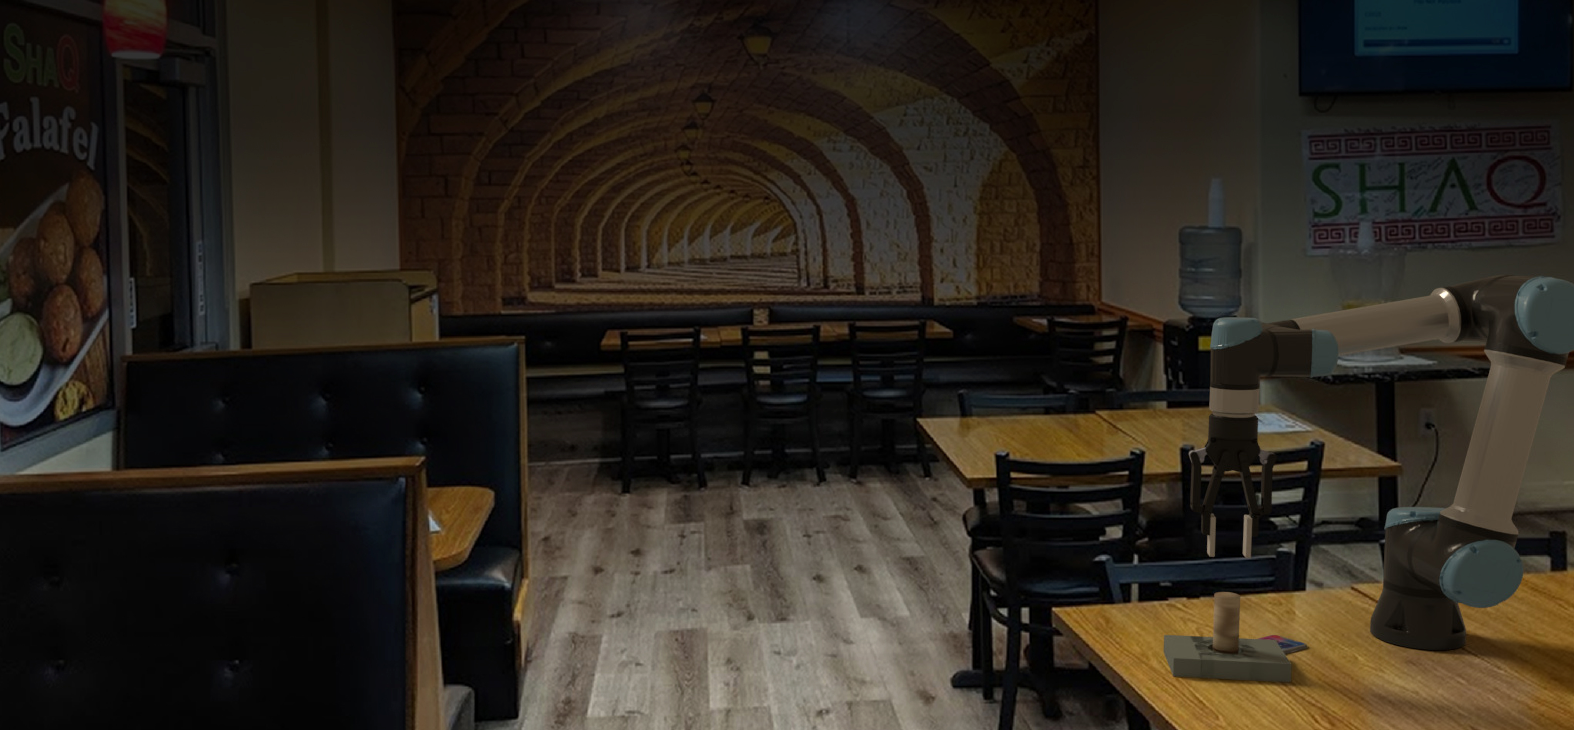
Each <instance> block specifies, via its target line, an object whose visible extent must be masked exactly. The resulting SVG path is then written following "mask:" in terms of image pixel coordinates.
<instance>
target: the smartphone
mask: <svg viewBox="0 0 1574 730" xmlns="http://www.w3.org/2000/svg"><path fill="white" fill-rule="evenodd" d="M1257 639H1266V640H1276V642H1277V643H1278V645H1279V646H1280V648H1281V649H1282V651H1283V652H1284V654H1285V655H1288V654H1291V653H1295V652H1300V651H1303V650H1306V649H1307V648H1308V644H1307V643H1305V642H1302V641H1298V640H1295V639H1291V638H1289V637H1286V636H1282V635H1277V634H1269V635H1266V636H1263V637H1259V638H1257Z"/></svg>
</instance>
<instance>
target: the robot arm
mask: <svg viewBox="0 0 1574 730" xmlns="http://www.w3.org/2000/svg"><path fill="white" fill-rule="evenodd" d="M1434 340H1439V341H1441V342H1442V343H1445V344H1451V343H1457V342H1483V343H1485V346H1484V349H1483V352H1484V353H1485V355H1486V357H1487V358H1488V360H1489V361H1490V368H1489V373H1488V376H1487V378H1486V379H1487V380H1486V383H1485V386H1484V390H1483V393H1482V398H1481V401H1480V405H1479V409H1478V412H1477V415H1476V416H1477V417H1476V419H1475V422H1474V427H1473V430H1472V434H1471V438H1470V441H1469V444H1468V448H1467V452H1466V456H1465V460H1464V462H1463V467H1462V471H1461V475H1460V478H1459V480H1458V484H1457V485H1458V486H1457V489H1456V492H1455V495H1454V496H1455V497H1454V498H1453V499H1454V500H1453V503H1452V504H1451V505H1450V506H1449V507H1432V506H1431V507H1427V506H1402V507H1395V508H1394V507H1393V508H1392V509H1389V511H1388V512H1387V514H1386V520H1385V525H1384V552H1383V553H1384V555H1383V556H1384V558H1383V577H1382V578H1383V582H1382V591H1381V594H1380V595H1379V598H1378V601H1377V602H1376V605H1375V607H1374V609H1373V612H1372V614H1371V617H1370V621H1369V622H1370V623H1369V625H1370V626H1369V627H1370V628H1369V632H1370V633H1371V635H1372V636H1373V637H1375V638H1376V639H1379V640H1381V641H1384V642H1387V643H1389V644H1391V645H1392V644H1393V645H1397V646H1401V647H1406V648H1411V649H1416V650H1417V649H1418V650H1428V651H1429V650H1431V651H1445V650H1454V649H1459V648H1462V647H1464V646H1465V645H1466V643H1467V628H1466V625H1465V622H1464V619H1463V615H1462V611H1461V608H1460V605H1459V604H1462V605H1465V606H1468V607H1471V608H1476V609H1486V608H1492V607H1496V606H1498V605H1499V604H1501V603H1503V602H1505V601H1507V600H1509V599H1510V598H1511V597H1512V596H1513V595H1514V594H1515V593H1516V592H1517V590H1518V589H1519V587H1520V585H1521V583H1522V582H1523V581H1522V580H1523V577H1524V562H1523V560H1521V558H1520V554H1519V553H1518V551H1517V549H1515V547H1516V544H1517V540H1518V536H1519V530H1518V528H1517V527H1516V525H1515V524H1514V522H1513V520H1512V517H1513V515H1514V510H1515V506H1516V503H1517V499H1518V496H1519V493H1520V489H1521V485H1522V481H1523V478H1524V475H1525V471H1526V467H1527V464H1528V460H1529V456H1530V453H1531V449H1532V445H1533V442H1534V438H1535V435H1536V430H1537V427H1538V424H1539V421H1540V420H1539V419H1540V416H1541V413H1542V410H1543V409H1542V408H1543V406H1544V402H1545V399H1546V396H1547V392H1548V387H1549V384H1550V380H1551V377H1552V376H1553V375H1555V374H1556V373H1557V372H1560V371H1561V370H1563V369H1565V367H1566V365H1567V360H1568V357H1569V353H1570V352H1573V351H1574V283H1573V282H1570V281H1568V280H1565V279H1560V278H1555V277H1553V276H1544V275H1539V276H1534V275H1533V276H1532V275H1513V274H1500V275H1499V274H1498V275H1493V276H1489V277H1484V278H1479V279H1475V280H1472V281H1466V282H1463V283H1458V284H1454V285H1448V286H1443V287H1437V288H1435V289H1433V290H1432V292H1431V293H1430V295H1426V296H1420V297H1415V298H1414V297H1413V298H1407V299H1402V300H1396V301H1390V302H1385V303H1384V302H1383V303H1379V304H1374V305H1373V304H1371V305H1367V306H1361V307H1355V308H1350V309H1344V310H1338V311H1337V310H1336V311H1332V312H1325V313H1320V314H1314V315H1307V316H1303V317H1297V318H1291V319H1284V320H1279V321H1274V322H1273V321H1272V322H1268V323H1267V322H1262V320H1260V318H1255V317H1235V316H1231V317H1230V316H1228V317H1227V316H1226V317H1219V318H1217V319H1216V320H1214V322H1213V324H1212V331H1211V339H1210V345H1209V347H1210V381H1209V382H1210V383H1209V385H1210V386H1209V407H1208V408H1209V411H1211V412H1212V413H1211V414H1209V415H1208V432H1207V433H1208V435H1207V437H1208V438H1207V441H1206V443H1205V445H1204V447H1203V448H1199V449H1195V450H1194V449H1190V450H1189V451H1188V453H1187V454H1188V457H1189V460H1190V463H1191V472H1190V473H1191V474H1190V475H1191V476H1190V497H1189V498H1190V499H1189V502H1190V503H1189V507H1190V508H1191V510H1192V511H1193V513H1197V514H1199V515H1201V522H1200V524H1201V525H1200V530H1201V533H1202V535H1203V536H1207V539H1206V541H1207V545H1206V549H1207V550H1206V553H1207V555H1208V556H1209V557H1211V558H1214V557H1215V555H1216V553H1215V552H1216V525H1217V524H1216V523H1217V517H1216V516H1215V514H1214V513H1212V512H1213V509H1214V506H1215V502H1216V500H1217V496H1218V493H1219V488H1221V487H1220V486H1221V483H1222V479H1223V478H1224V475H1225V473H1226V472H1233V471H1234V472H1237V473H1239V475H1240V479H1241V483H1242V487H1243V491H1244V496H1245V500H1246V505H1247V508H1248V509H1247V510H1248V513H1249V514H1244V515H1243V532H1242V533H1243V536H1242V537H1243V538H1242V539H1243V540H1242V555H1243V556H1244V557H1245V558H1246V559H1251V558H1252V537H1253V538H1257V537H1258V535H1259V525H1260V524H1259V523H1260V521H1259V520H1260V518H1261V517H1262V516H1265V515H1271V513H1272V506H1273V501H1272V500H1273V469H1274V466H1275V464H1276V463H1277V459H1278V457H1277V454H1275V453H1274V452H1272V451H1266V450H1263V449H1261V446H1260V444H1259V442H1258V436H1259V435H1258V433H1259V417H1258V416H1257V415H1256V414H1257V413H1258V412H1259V410H1260V407H1259V405H1260V384H1261V383H1260V380H1261V377H1262V378H1270V377H1291V378H1292V377H1294V378H1295V377H1297V378H1298V377H1299V378H1300V377H1304V378H1305V377H1307V378H1308V377H1309V378H1310V379H1312V378H1314V377H1326V376H1329V375H1331V374H1332V373H1333V372H1334V371H1335V370H1336V368H1337V365H1338V362H1339V356H1344V355H1350V354H1357V353H1363V352H1367V351H1374V350H1379V349H1386V348H1393V347H1398V346H1404V345H1410V344H1416V343H1422V342H1427V341H1428V342H1429V341H1434ZM1206 456H1208V458H1209V460H1211V462H1212V463H1213V467H1212V471H1211V477H1210V478H1209V483H1208V485H1207V489H1206V491H1205V492H1206V493H1205V496H1204V499H1203V502H1202V504H1201V493H1202V492H1201V490H1202V463H1204V461H1205V457H1206ZM1258 457H1259V462H1260V463H1261V464H1262V465H1261V478H1260V479H1261V480H1260V483H1261V484H1260V485H1261V486H1260V505H1258V501H1257V497H1256V492H1255V488H1254V483H1253V480H1252V473H1251V469H1250V466H1251V465H1252V464H1253V462H1254V461H1255V460H1257V458H1258Z"/></svg>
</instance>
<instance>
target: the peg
mask: <svg viewBox="0 0 1574 730" xmlns="http://www.w3.org/2000/svg"><path fill="white" fill-rule="evenodd" d="M1240 595H1241V594H1238V593H1234V592H1230V591H1218V592H1215V593H1214V595H1213V596H1214V597H1213V598H1214V599H1213V627H1212V628H1213V629H1212V630H1213V631H1212V633H1213V634H1212V637H1213V647H1212V648H1213V652H1216V653H1221V654H1231V655H1234V654H1238V652H1239V638H1240V619H1241V618H1240V616H1241V615H1240V614H1241V613H1240V612H1241V596H1240Z"/></svg>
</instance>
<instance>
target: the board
mask: <svg viewBox="0 0 1574 730" xmlns="http://www.w3.org/2000/svg"><path fill="white" fill-rule="evenodd" d="M1212 647H1213V636H1197V635H1194V636H1193V635H1178V634H1173V635H1172V634H1163V654H1164V657H1165V659H1166V662H1167V664H1168V668H1170V672H1171V674H1172V676H1173V677H1178V678H1179V677H1181V678H1182V677H1183V678H1200V679H1201V678H1202V679H1218V680H1219V679H1220V680H1221V679H1222V680H1240V681H1259V682H1275V683H1276V682H1279V683H1291V681H1292V662H1291V661H1290V659H1289V658H1288V656H1287V654H1284V652H1283V651H1282V649H1281V648H1280V646H1279V645H1278V643H1277V642H1276V640H1266V639H1258V638H1243V637H1239V652H1238V654H1234V655H1231V654H1221V653H1216V652H1213V648H1212Z"/></svg>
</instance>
